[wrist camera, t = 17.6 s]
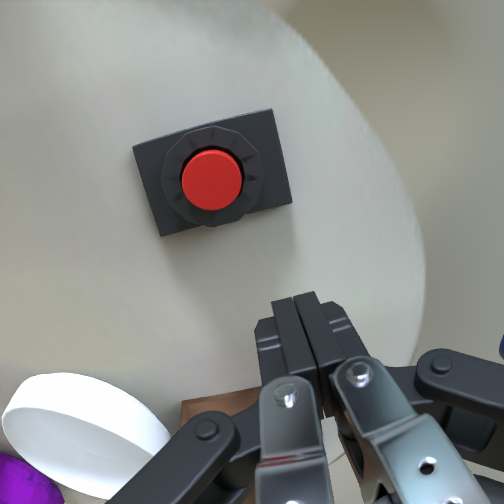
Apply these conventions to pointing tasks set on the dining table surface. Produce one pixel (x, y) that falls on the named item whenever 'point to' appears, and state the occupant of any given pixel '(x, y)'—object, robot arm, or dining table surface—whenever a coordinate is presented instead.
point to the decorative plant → (25, 484)
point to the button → (211, 180)
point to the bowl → (82, 432)
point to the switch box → (223, 139)
